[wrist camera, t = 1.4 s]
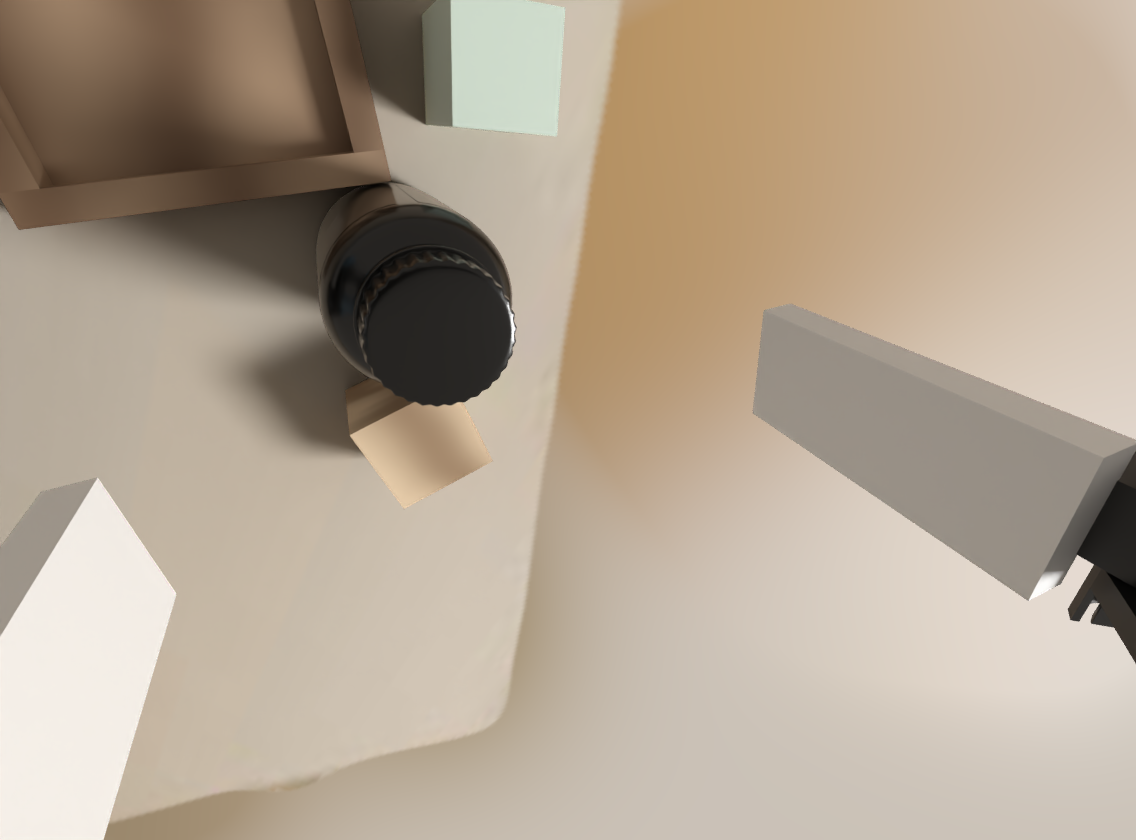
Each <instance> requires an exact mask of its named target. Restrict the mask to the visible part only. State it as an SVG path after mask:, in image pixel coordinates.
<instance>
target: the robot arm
mask: <svg viewBox="0 0 1136 840" xmlns="http://www.w3.org/2000/svg"><path fill="white" fill-rule="evenodd" d="M753 414H755V415H756V416H758V417H759V418H761V419H762V420H764V421H765V422H767V423H768V424H770V425H771V426H773V427H774V428H775V429H777V430H778V431H780V432H781V433H783V434H784V435H786V436H787V437H789V438H790V439H792V440H793V441H795V442H796V443H797V444H799V445H800V446H802V447H803V448H805V449H806V450H808V451H809V452H811V453H812V454H813V455H815V456H816V457H818V458H819V459H821V460H822V461H824V462H825V463H827V464H828V465H830V466H831V467H833V468H834V469H836V470H837V471H838V472H840V473H841V474H843V475H844V476H846V477H847V478H849V479H850V480H852V481H853V482H855V483H856V484H858V485H859V486H860V487H862V488H863V489H865V490H866V491H868V492H869V493H871V494H872V495H874V496H875V497H877V498H878V499H880V500H881V501H883V502H884V503H885V504H887V505H888V506H890V507H891V508H893V509H894V510H896V511H897V512H899V513H900V514H902V515H903V516H905V517H906V518H907V519H909V520H910V521H912V522H913V523H915V524H916V525H918V526H919V527H921V528H922V529H924V530H925V531H926V532H928V533H930V534H931V535H932V536H934V537H935V538H937V539H938V540H940V541H941V542H943V543H944V544H946V545H947V546H949V547H950V548H952V549H953V550H954V551H956V552H957V553H959V554H960V555H962V556H963V557H965V558H966V559H968V560H969V561H971V562H972V563H973V564H975V565H976V566H978V567H979V568H981V569H982V570H984V571H985V572H987V573H988V574H990V575H991V576H993V577H994V578H995V579H997V580H998V581H1000V582H1001V583H1003V584H1004V585H1006V586H1007V587H1009V588H1010V589H1012V590H1013V591H1015V592H1016V593H1018V594H1019V595H1020V596H1022V597H1023V598H1025V599H1026V600H1028V601H1029V600H1031V599H1033V598H1035V597H1037V596H1039V595H1040V594H1042V593H1044V592H1046V591H1048V590H1050V589H1052V588H1054V587H1056V586H1058V585H1060V584H1061V583H1062V581H1063V579H1064V577H1065V575H1066V574H1067V572H1068V570H1069V568H1070V566H1071V565H1072V563H1073V561H1074V560H1075V558H1076V556H1077V555H1079V556H1080V557H1082V558H1084V559H1086V560H1087V561H1089V562H1091V563H1093V564H1094V566H1093V568H1092V569H1091V571H1090V573H1089V574H1088V576H1087V578H1086V580H1085V581H1084V583H1083V584H1082V586H1081V588H1080V589H1079V591H1078V593H1077V595H1076V596H1075V598H1074V600H1073V601H1072V603H1071V605H1070V606H1069V608H1068V612H1069V616H1070V620H1073V621H1080V619H1081V617H1082V616H1083V614H1084V613H1085V611H1086V609H1087V608H1088V606H1089V604H1091V603H1100V604H1099V606H1098V607H1097V609H1096V610H1095V612H1094V613H1093V615H1092V619H1091V623H1092V624H1097V625H1102V626H1108V627H1114V628H1115V630H1116V631H1117V633H1118V635H1119V636H1120V638H1121V640H1122V641H1123V643H1124V645H1125V646H1126V648H1127V650H1128V651H1129V653H1130V655H1131V656H1132V658H1133V660H1134V661H1135V663H1136V440H1135V439H1132V438H1130V437H1127V436H1125V435H1122V434H1120V433H1117V432H1115V431H1112V430H1110V429H1107V428H1105V427H1102V426H1099V425H1097V424H1094V423H1092V422H1089V421H1087V420H1084V419H1082V418H1079V417H1077V416H1074V415H1072V414H1069V413H1066V412H1064V411H1061V410H1059V409H1056V408H1054V407H1051V406H1049V405H1046V404H1044V403H1041V402H1039V401H1036V400H1033V399H1031V398H1029V397H1026V396H1023V395H1021V394H1018V393H1016V392H1013V391H1011V390H1008V389H1006V388H1003V387H1001V386H998V385H996V384H993V383H990V382H988V381H985V380H983V379H980V378H978V377H975V376H973V375H970V374H968V373H965V372H963V371H960V370H958V369H955V368H953V367H950V366H947V365H945V364H942V363H940V362H937V361H935V360H932V359H930V358H927V357H924V356H922V355H920V354H917V353H914V352H912V351H909V350H907V349H904V348H902V347H899V346H896V345H894V344H892V343H889V342H887V341H884V340H882V339H879V338H877V337H874V336H871V335H869V334H866V333H864V332H861V331H859V330H856V329H854V328H851V327H849V326H846V325H844V324H841V323H838V322H836V321H833V320H831V319H828V318H826V317H823V316H821V315H818V314H816V313H813V312H811V311H808V310H805V309H803V308H800V307H798V306H795V305H793V304H787V305H783V306H779V307H775V308H771V309H767V310H764V313H763V322H762V331H761V341H760V350H759V359H758V368H757V378H756V388H755V397H754V406H753ZM175 597H176V592H175V591H174V590H173V588H172V587H171V585H170V584H169V582H168V581H167V579H166V578H165V576H164V575H163V573H162V572H161V570H160V569H159V567H158V566H157V564H156V563H155V561H154V560H153V559H152V557H151V556H150V554H149V553H148V551H147V550H146V548H145V547H144V545H143V544H142V542H141V541H140V539H139V538H138V536H137V535H136V533H135V532H134V530H133V529H132V528H131V526H130V525H129V523H128V522H127V520H126V519H125V517H124V516H123V514H122V513H121V511H120V510H119V508H118V507H117V505H116V504H115V502H114V501H113V499H112V498H111V497H110V495H109V494H108V492H107V491H106V489H105V488H104V486H103V485H102V483H101V482H100V480H99V479H98V478H94V479H90V480H86V481H82V482H78V483H74V484H70V485H66V486H62V487H58V488H54V489H50V490H46V491H42V492H41V493H40V494H39V495H38V497H37V498H36V499H35V501H34V502H33V503H32V505H31V506H30V507H29V509H28V510H27V511H26V513H25V514H24V516H23V517H22V518H21V520H20V521H19V522H18V524H17V525H16V526H15V528H14V529H13V530H12V532H11V533H10V534H9V536H8V537H7V538H6V540H5V541H4V542H3V544H2V545H1V547H0V840H103V839H104V836H105V832H106V829H107V826H108V822H109V819H110V816H111V812H112V809H113V805H114V802H115V799H116V795H117V792H118V789H119V785H120V782H121V779H122V775H123V772H124V769H125V765H126V762H127V759H128V755H129V752H130V748H131V745H132V742H133V738H134V735H135V732H136V728H137V725H138V722H139V718H140V715H141V712H142V708H143V705H144V701H145V698H146V695H147V691H148V688H149V685H150V681H151V678H152V675H153V671H154V668H155V665H156V661H157V658H158V654H159V651H160V648H161V644H162V641H163V638H164V634H165V631H166V628H167V624H168V621H169V618H170V614H171V611H172V608H173V604H174V601H175Z"/></svg>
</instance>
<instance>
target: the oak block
mask: <svg viewBox="0 0 1136 840" xmlns="http://www.w3.org/2000/svg"><path fill="white" fill-rule="evenodd" d="M345 394H346V404H347V415H348V426H349V435H350V437H351V438H352V439H353V441H354V442H355V443H356V445H357V446H358V447H359V449H360V450H361V452H362V453H363V454H364V456H365V457H366V458H367V460H368V461H369V462H370V464H371V465H372V466H373V468H374V469H375V470H376V472H377V473H378V474H379V476H380V477H381V478H382V480H383V481H384V483H385V484H386V485H387V487H388V488H389V489H390V491H391V492H392V493H393V495H394V496H395V497H396V499H397V500H398V501H399V503H400V504H401V505H402V507H403V508H404V509H405V508H407V507H409V506H410V505H412V504H414V503H416V502H418V501H420V500H422V499H423V498H425V497H427V496H429V495H431V494H433V493H435V492H436V491H438V490H440V489H442V488H444V487H446V486H448V485H449V484H451V483H453V482H455V481H457V480H459V479H461V478H462V477H464V476H466V475H468V474H470V473H472V472H474V471H475V470H477V469H479V468H481V467H483V466H485V465H487V464H488V463H490V462H492V459H491V457H490V455H489V453H488V451H487V449H486V447H485V445H484V443H483V441H482V439H481V437H480V435H479V433H478V431H477V429H476V427H475V425H474V423H473V421H472V419H471V417H470V415H469V413H468V412H467V410H466V408H465V406H464V404H463V403H462V402H457V403H455V404H454V405H451V406H450V405H442V406H438V407H435V406H433V405H424V406H422V405H420V404H418V403H417V402H408V401H407V400H405V398H403V397H399V396H395V395H394V393H393V392H392V390H390V389H387V388H385V387H383V385H382V384H381V383H379V382H376V381H374V380H372V379H370V378H369V379H367V380H365V381H363V382H361V383H359V384H357V385H355V386H353V387H351V388H349V389H347V390H345Z"/></svg>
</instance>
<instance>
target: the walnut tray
mask: <svg viewBox="0 0 1136 840" xmlns="http://www.w3.org/2000/svg"><path fill="white" fill-rule="evenodd" d="M389 181H391V176H390V172H389V168H388V163H387V159H386V155H385V150H384V146H383V142H382V137H381V133H380V129H379V124H378V120H377V116H376V111H375V107H374V103H373V98H372V94H371V90H370V85H369V81H368V77H367V72H366V68H365V64H364V59H363V55H362V51H361V46H360V42H359V38H358V33H357V29H356V25H355V20H354V16H353V12H352V7H351V3H350V0H0V199H1V200H2V202H3V204H4V205H5V207H6V209H7V210H8V212H9V214H10V216H11V217H12V219H13V221H14V222H15V224H16V226H17V228H18V229H19V230H21V229H29V228H36V227H44V226H52V225H59V224H67V223H75V222H82V221H90V220H98V219H105V218H113V217H121V216H128V215H136V214H144V213H151V212H159V211H167V210H174V209H182V208H190V207H197V206H205V205H213V204H220V203H228V202H236V201H243V200H251V199H258V198H266V197H274V196H281V195H289V194H297V193H304V192H312V191H320V190H327V189H335V188H343V187H350V186H358V185H366V184H373V183H381V182H389Z"/></svg>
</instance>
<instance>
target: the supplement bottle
mask: <svg viewBox="0 0 1136 840" xmlns="http://www.w3.org/2000/svg"><path fill="white" fill-rule="evenodd" d="M316 265H317V280H318V295H319V305H320V311H321V315H322V318H323V322H324V325H325V328H326V330H327V333H328V335H329V337H330V339H331V340H332V342H333V344H334V345H335V347H336V348H337V350H338V351H339V352H340V354H341V355H342V356H343V357H344V358H345V359H346V360H347V361H348V362H349V363H350V364H351V365H352V366H353V367H354V368H355V369H357V370H358V371H359V372H361V373H362V374H364V375H365V376H367V377H369V378H370V379H372V380H374V381H376V382H379V383H381V384H382V385H383V387H385V388H387V389H390V390H392V392H393V393H394V395H395V396H399V397H403V398H405V400H407V401H408V402H417V403H418V404H420V405H422V406H424V405H433V406H435V407H438V406H442V405H450V406H451V405H454V404H455V403H457V402H466V401H467V400H468V399H470V398H472V397H476V396H478V395H479V394H480V393H481V392H482V391H483V390H486V389H488V388H489V387H490V386H491V384H492V382H494V381H495V380H497V379H498V378H499V377H500V374H501V372H502V371H503V370H504V369H505V368H506V367H507V363H508V360H509V358H510V357H511V356H512V352H513V351H512V347H513V346H514V344H515V342H516V340H515V336H514V334H515V331H516V325H515V323H514V312H513V310H512V289H511V283H510V278H509V274H508V271H507V268H506V265H505V263H504V261H503V259H502V257H501V255H500V253H499V251H498V250H497V248H496V247H495V245H494V244H493V243H492V241H491V240H490V239H489V238H488V237H487V236H486V235H485V234H484V233H483V232H482V231H481V230H480V229H479V228H478V227H477V226H476V225H475V224H473V223H472V222H471V221H469V220H468V219H467V218H465V217H464V216H462V215H461V214H459V213H457V212H456V211H454V210H453V209H451V208H449V207H448V206H446V205H445V204H443V203H441V202H440V201H438V200H437V199H435V198H433V197H432V196H430V195H428V194H426V193H425V192H423V191H421V190H418V189H416V188H414V187H411V186H408V185H404V184H399V183H389V182H382V183H373V184H368V185H364V186H361V187H359V188H356V189H354V190H352V191H350V192H349V193H347V194H345V195H344V196H343V197H341V198H340V199H339V200H338V201H337V202H336V203H335V204H334V205H333V206H332V207H331V208H330V210H329V211H328V213H327V214H326V216H325V218H324V220H323V222H322V224H321V227H320V229H319V233H318V237H317V243H316Z"/></svg>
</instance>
